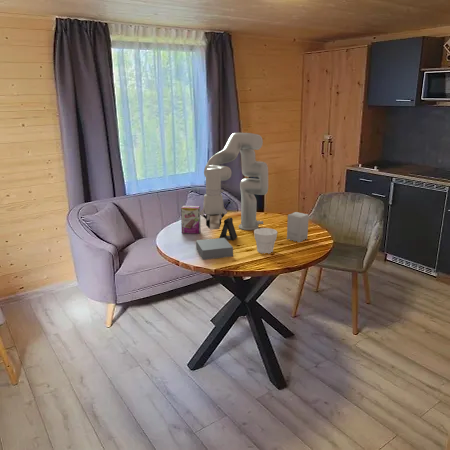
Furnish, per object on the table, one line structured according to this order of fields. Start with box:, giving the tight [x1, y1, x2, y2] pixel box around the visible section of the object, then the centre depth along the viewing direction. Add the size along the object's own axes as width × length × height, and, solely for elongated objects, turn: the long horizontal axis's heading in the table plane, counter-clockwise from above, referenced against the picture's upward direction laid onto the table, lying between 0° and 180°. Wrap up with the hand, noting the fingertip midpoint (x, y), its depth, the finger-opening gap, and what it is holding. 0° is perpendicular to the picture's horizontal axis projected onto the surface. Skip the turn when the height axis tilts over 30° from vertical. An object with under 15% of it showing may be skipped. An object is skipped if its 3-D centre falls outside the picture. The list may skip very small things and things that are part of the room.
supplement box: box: [286, 211, 310, 243], centre depth 236 cm, size 9×9×15 cm
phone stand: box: [218, 216, 238, 241], centre depth 238 cm, size 9×6×12 cm, turn 66°
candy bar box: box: [180, 205, 201, 235], centre depth 247 cm, size 11×5×16 cm, turn 84°
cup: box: [253, 227, 278, 255], centre depth 218 cm, size 12×12×11 cm
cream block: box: [208, 214, 221, 231], centre depth 212 cm, size 5×5×7 cm
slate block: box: [195, 237, 234, 260], centre depth 216 cm, size 16×16×5 cm
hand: (213, 226), depth 213 cm, fingers closed on cream block, 5 cm apart
